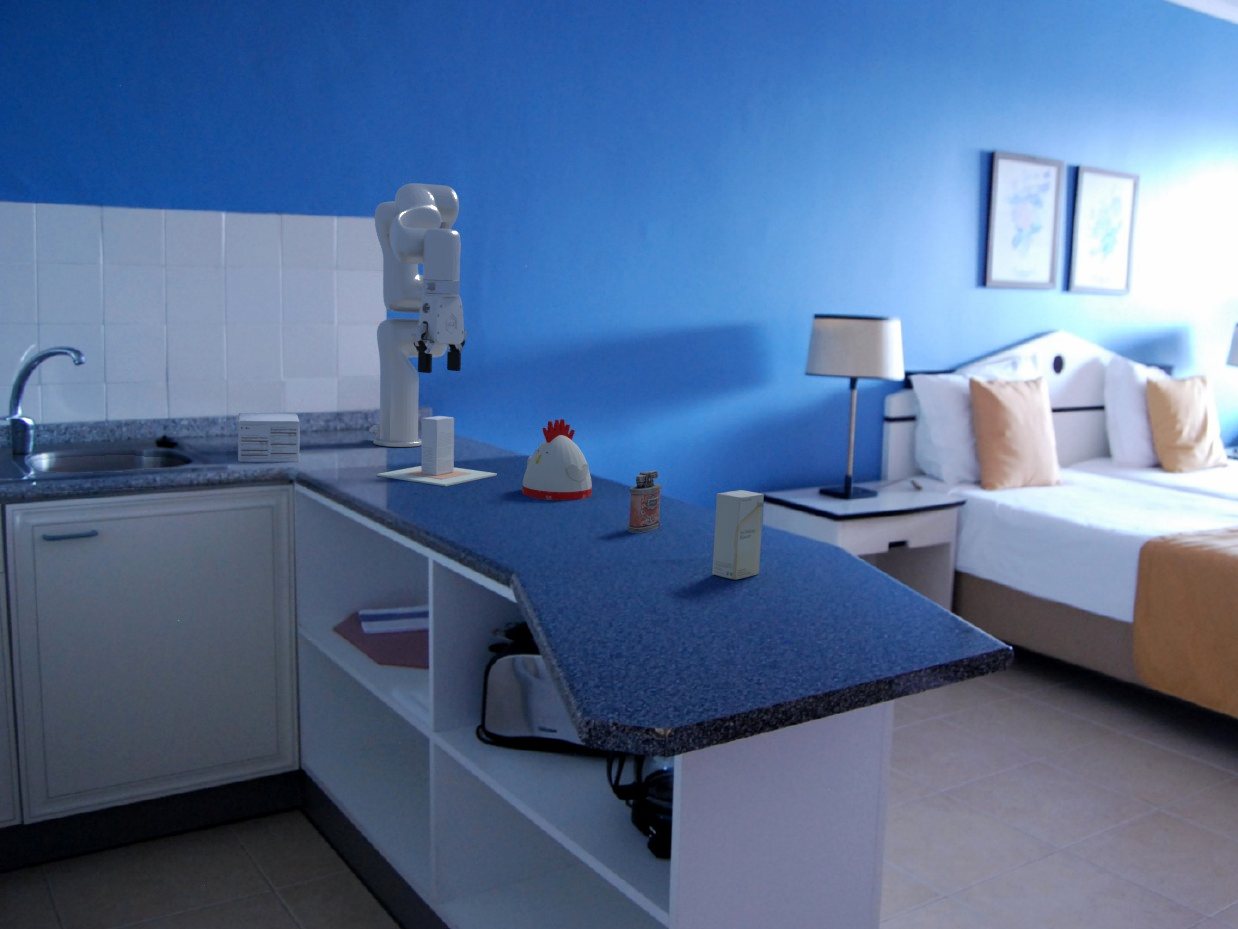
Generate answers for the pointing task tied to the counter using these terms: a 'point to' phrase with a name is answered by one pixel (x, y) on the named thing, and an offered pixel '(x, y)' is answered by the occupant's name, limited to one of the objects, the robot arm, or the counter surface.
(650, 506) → the lighter
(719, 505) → the skincare box
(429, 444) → the skincare box
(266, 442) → the supplement box
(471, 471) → the square coaster
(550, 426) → the kitchen timer
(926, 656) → the counter surface
